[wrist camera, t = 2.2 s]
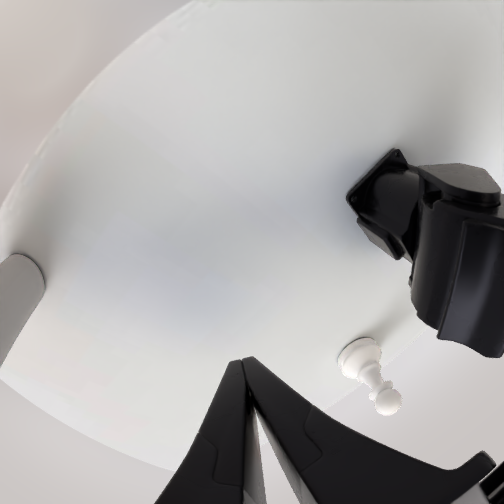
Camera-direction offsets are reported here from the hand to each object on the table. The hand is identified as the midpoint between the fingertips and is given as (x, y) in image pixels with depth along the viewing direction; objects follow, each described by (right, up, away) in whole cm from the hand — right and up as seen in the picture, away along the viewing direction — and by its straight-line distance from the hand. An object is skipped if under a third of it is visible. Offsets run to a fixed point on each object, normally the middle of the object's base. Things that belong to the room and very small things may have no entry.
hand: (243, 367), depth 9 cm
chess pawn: (+12, -8, +21) cm, 25 cm away
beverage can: (-19, +2, +10) cm, 22 cm away
